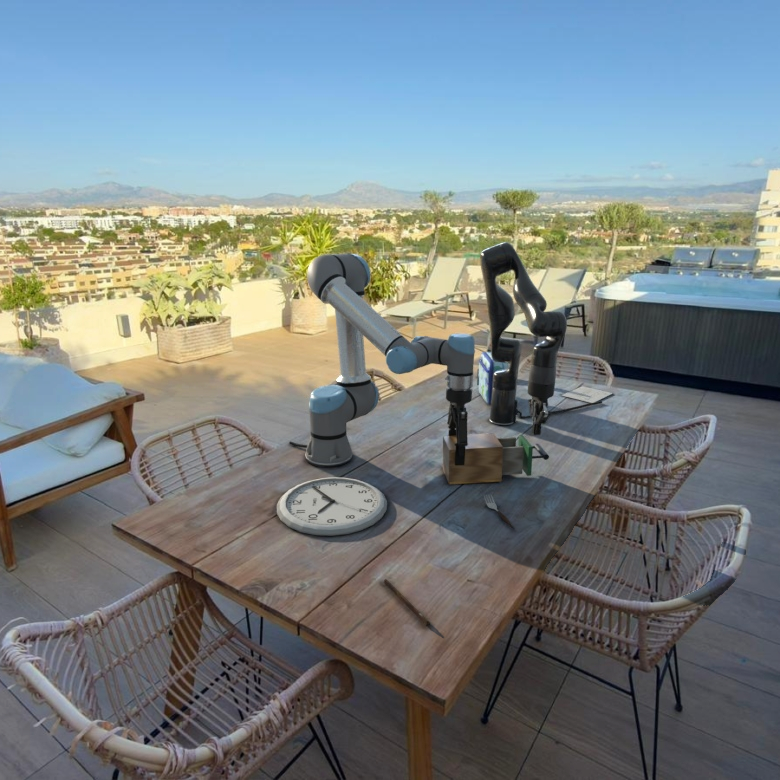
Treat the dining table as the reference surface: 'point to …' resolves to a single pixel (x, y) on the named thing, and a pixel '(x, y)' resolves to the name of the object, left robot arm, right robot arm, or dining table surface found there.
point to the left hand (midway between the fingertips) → (455, 456)
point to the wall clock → (331, 506)
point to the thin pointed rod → (407, 602)
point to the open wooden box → (473, 459)
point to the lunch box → (488, 375)
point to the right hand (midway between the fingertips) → (536, 434)
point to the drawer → (519, 455)
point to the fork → (494, 506)
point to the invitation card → (587, 394)
